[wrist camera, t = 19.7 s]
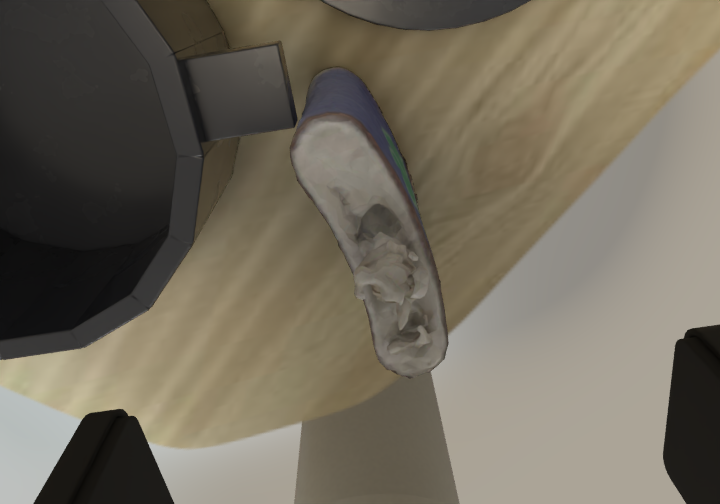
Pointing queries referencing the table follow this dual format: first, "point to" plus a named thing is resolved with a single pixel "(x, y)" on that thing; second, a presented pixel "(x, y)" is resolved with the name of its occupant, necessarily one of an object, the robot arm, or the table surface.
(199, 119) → the pan
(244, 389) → the table surface
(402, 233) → the flask
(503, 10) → the pan lid
